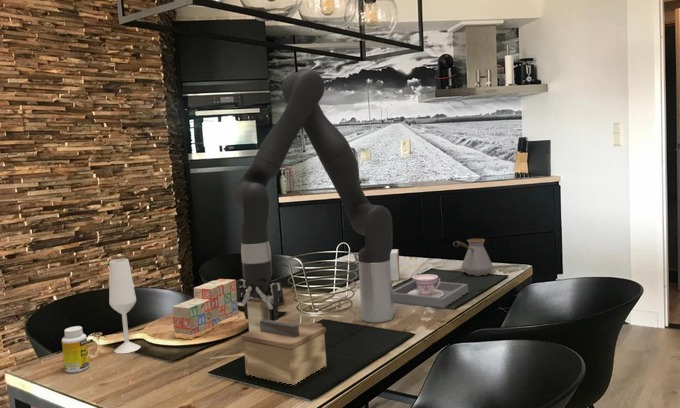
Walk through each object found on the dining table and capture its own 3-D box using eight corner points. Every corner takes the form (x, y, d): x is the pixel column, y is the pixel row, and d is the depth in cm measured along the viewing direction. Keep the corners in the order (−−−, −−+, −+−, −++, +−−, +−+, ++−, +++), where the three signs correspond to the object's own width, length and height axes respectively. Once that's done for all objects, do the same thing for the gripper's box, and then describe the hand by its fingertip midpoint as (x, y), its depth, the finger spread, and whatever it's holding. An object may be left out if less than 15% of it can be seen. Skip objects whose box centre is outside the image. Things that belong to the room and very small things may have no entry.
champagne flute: (145, 347, 155) (137, 259, 153) (122, 355, 150) (113, 264, 148) (132, 342, 160) (124, 257, 157) (109, 350, 154) (100, 261, 152)
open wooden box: (279, 357, 142) (277, 325, 141) (326, 366, 134) (324, 333, 133) (246, 374, 132) (243, 340, 131) (294, 386, 124) (291, 349, 123)
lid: (281, 321, 143) (280, 308, 143) (330, 329, 135) (329, 315, 134) (241, 339, 131) (240, 325, 131) (291, 349, 123) (290, 333, 123)
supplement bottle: (84, 372, 139) (80, 331, 138) (61, 374, 139) (56, 333, 138) (93, 364, 145) (89, 324, 144) (70, 365, 145) (66, 325, 144)
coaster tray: (415, 287, 202) (414, 279, 201) (468, 293, 191) (467, 284, 190) (387, 302, 186) (387, 292, 185) (444, 308, 175) (443, 298, 174)
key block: (261, 341, 155) (258, 297, 154) (274, 343, 152) (271, 298, 151) (250, 346, 151) (246, 301, 150) (263, 349, 149) (259, 303, 147)
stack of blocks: (191, 341, 159) (188, 297, 157) (174, 338, 162) (170, 295, 160) (239, 318, 178) (236, 279, 176) (223, 316, 180) (220, 277, 179)
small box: (398, 281, 213) (397, 252, 212) (383, 281, 214) (382, 253, 213) (400, 276, 221) (398, 248, 220) (385, 276, 222) (384, 249, 221)
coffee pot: (470, 269, 225) (469, 231, 224) (498, 272, 218) (497, 232, 216) (442, 281, 209) (441, 240, 207) (471, 284, 201) (470, 242, 200)
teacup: (409, 301, 183) (408, 282, 183) (405, 291, 195) (405, 273, 195) (447, 299, 183) (446, 280, 182) (441, 289, 195) (441, 271, 194)
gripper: (287, 258, 149) (291, 319, 150) (246, 255, 157) (251, 313, 158) (267, 264, 142) (272, 328, 144) (226, 260, 150) (231, 321, 152)
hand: (261, 320), depth 151 cm, fingers open, 8 cm apart
